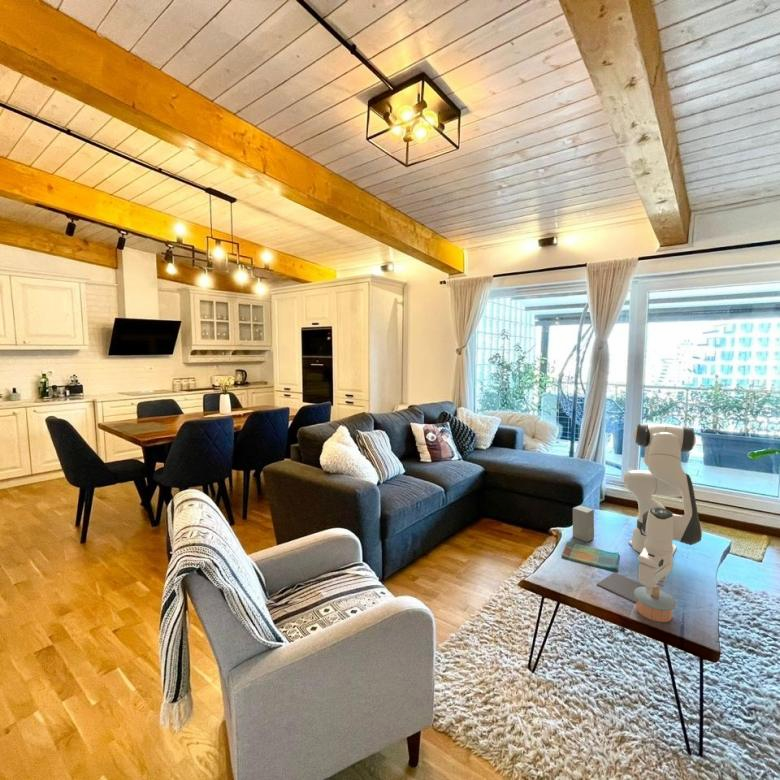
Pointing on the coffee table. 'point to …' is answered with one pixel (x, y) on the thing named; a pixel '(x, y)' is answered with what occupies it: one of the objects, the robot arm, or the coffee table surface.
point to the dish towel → (591, 556)
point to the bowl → (653, 612)
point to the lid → (655, 598)
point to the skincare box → (583, 523)
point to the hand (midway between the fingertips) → (655, 589)
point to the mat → (620, 586)
